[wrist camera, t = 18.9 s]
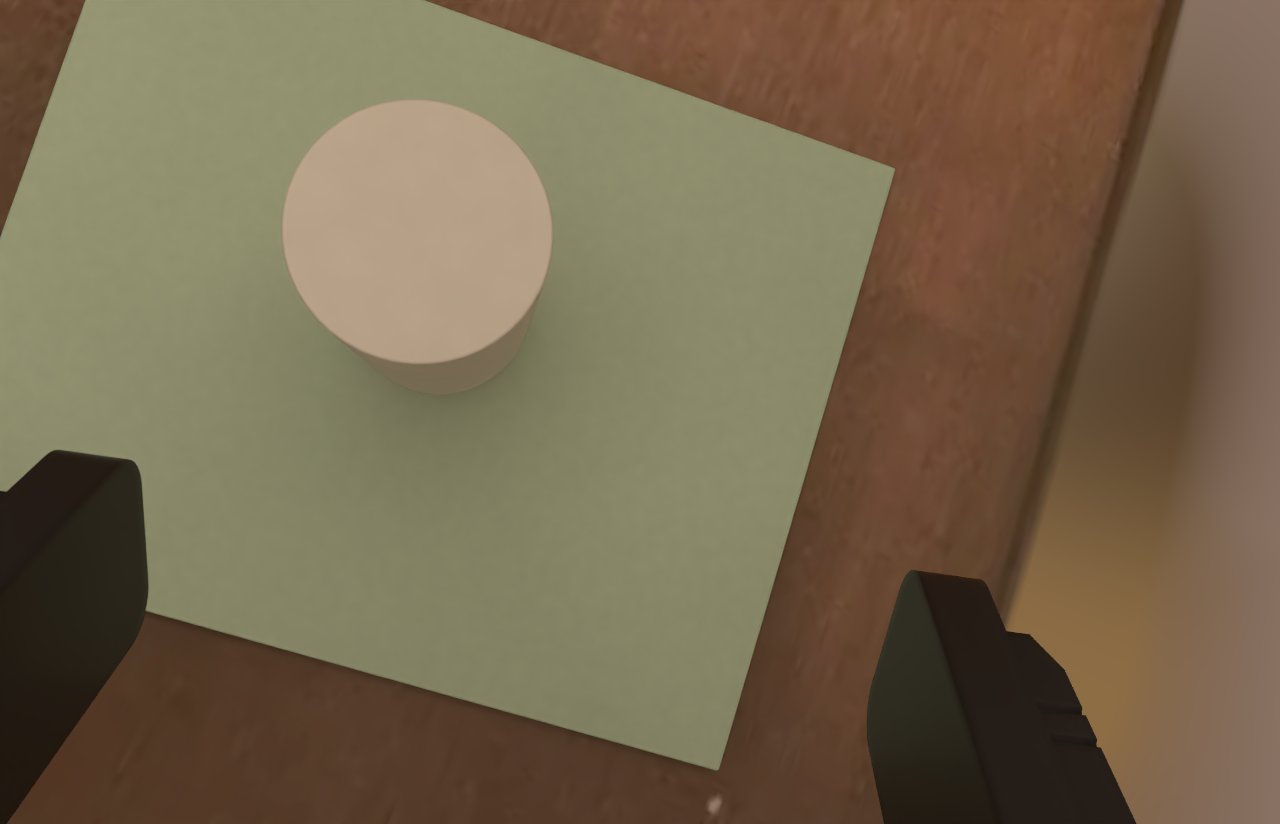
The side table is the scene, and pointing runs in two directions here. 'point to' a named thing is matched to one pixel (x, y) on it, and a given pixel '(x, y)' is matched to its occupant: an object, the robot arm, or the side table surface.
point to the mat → (437, 423)
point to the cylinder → (420, 241)
